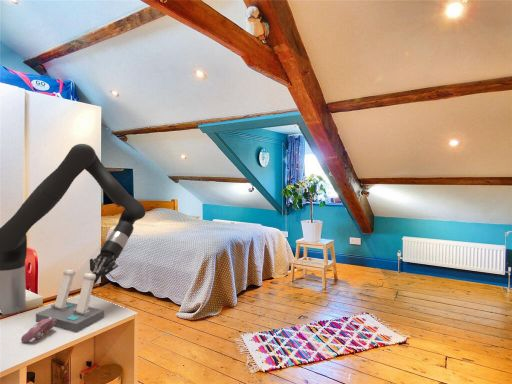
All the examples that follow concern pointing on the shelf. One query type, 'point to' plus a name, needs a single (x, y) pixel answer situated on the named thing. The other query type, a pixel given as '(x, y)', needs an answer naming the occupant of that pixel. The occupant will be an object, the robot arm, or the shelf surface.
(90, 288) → the lever
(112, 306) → the shelf surface
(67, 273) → the lever
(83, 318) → the switch base
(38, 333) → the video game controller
